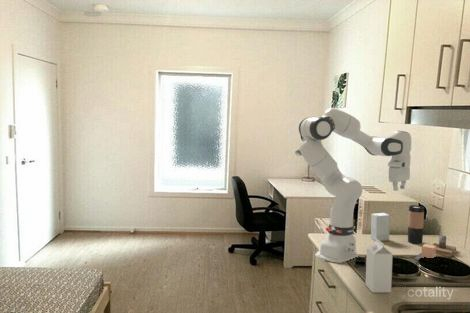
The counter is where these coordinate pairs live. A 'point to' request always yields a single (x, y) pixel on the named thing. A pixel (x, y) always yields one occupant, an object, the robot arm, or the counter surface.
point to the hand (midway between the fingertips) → (399, 189)
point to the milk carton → (378, 268)
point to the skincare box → (380, 226)
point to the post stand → (444, 247)
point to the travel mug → (415, 224)
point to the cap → (428, 251)
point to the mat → (418, 257)
